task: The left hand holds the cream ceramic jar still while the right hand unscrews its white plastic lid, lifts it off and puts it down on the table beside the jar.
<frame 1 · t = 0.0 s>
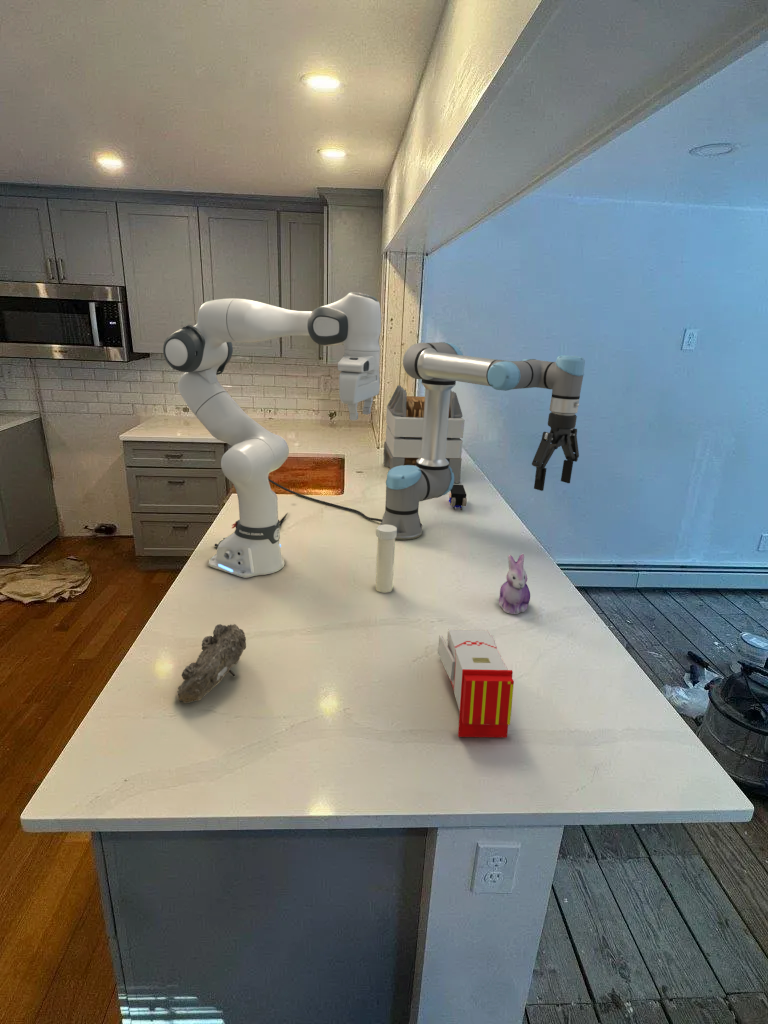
left hand: (360, 417, 147), 48 cm above the counter, tool pointing down, fingers open, 8 cm apart
right hand: (552, 485, 166), 28 cm above the counter, tool pointing down, fingers open, 13 cm apart
feather: (286, 516, 211), on the counter
grey boxy container: (419, 473, 275), on the counter
fossil: (217, 674, 120), on the counter
toy: (469, 691, 119), on the counter
jar: (383, 588, 160), on the counter
figurine character: (456, 506, 231), on the counter
lid: (386, 529, 154), point 18 cm above the counter, screwed on, not yet turned
figurine: (513, 607, 154), on the counter
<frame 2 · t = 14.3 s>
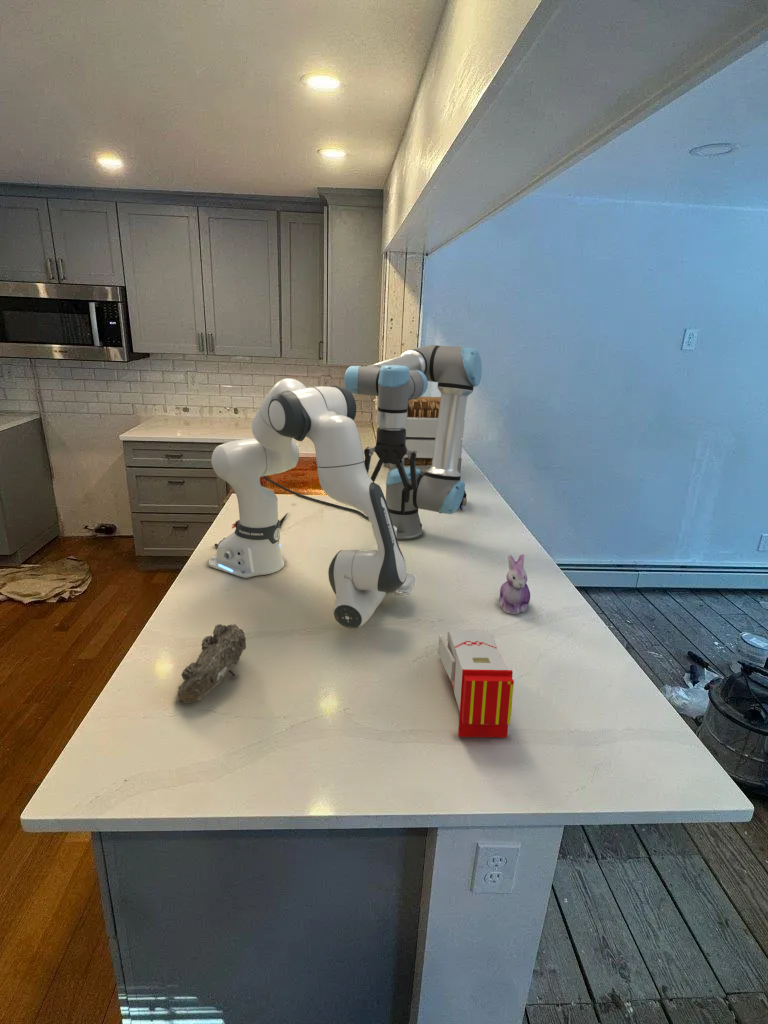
left hand: (385, 567, 159), 6 cm above the counter, tool horizontal, fingers closed on jar, 5 cm apart
right hand: (387, 511, 153), 23 cm above the counter, tool pointing down, fingers open, 7 cm apart
jar: (384, 588, 160), on the counter, touching left hand
everything else where it was.
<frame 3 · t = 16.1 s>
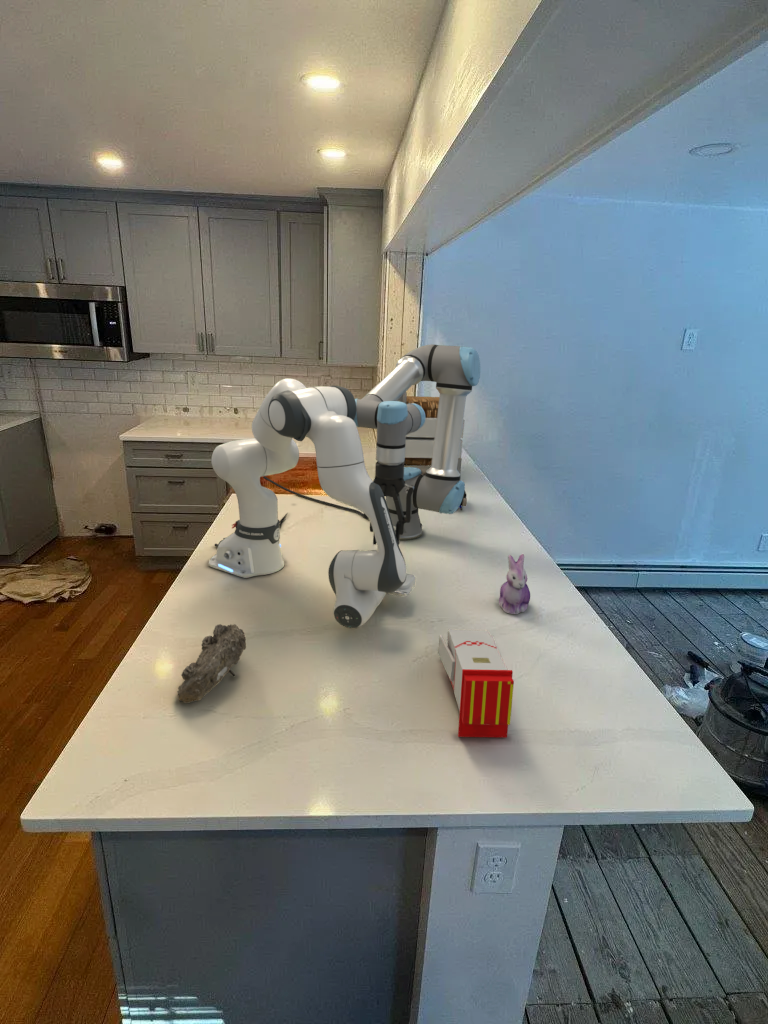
left hand: (385, 567, 159), 6 cm above the counter, tool horizontal, fingers closed on jar, 5 cm apart
right hand: (386, 543, 156), 14 cm above the counter, tool pointing down, fingers closed on lid, 5 cm apart
jar: (384, 588, 160), on the counter, touching left hand
lid: (386, 529, 154), point 18 cm above the counter, screwed on, not yet turned, touching right hand
everything else where it was.
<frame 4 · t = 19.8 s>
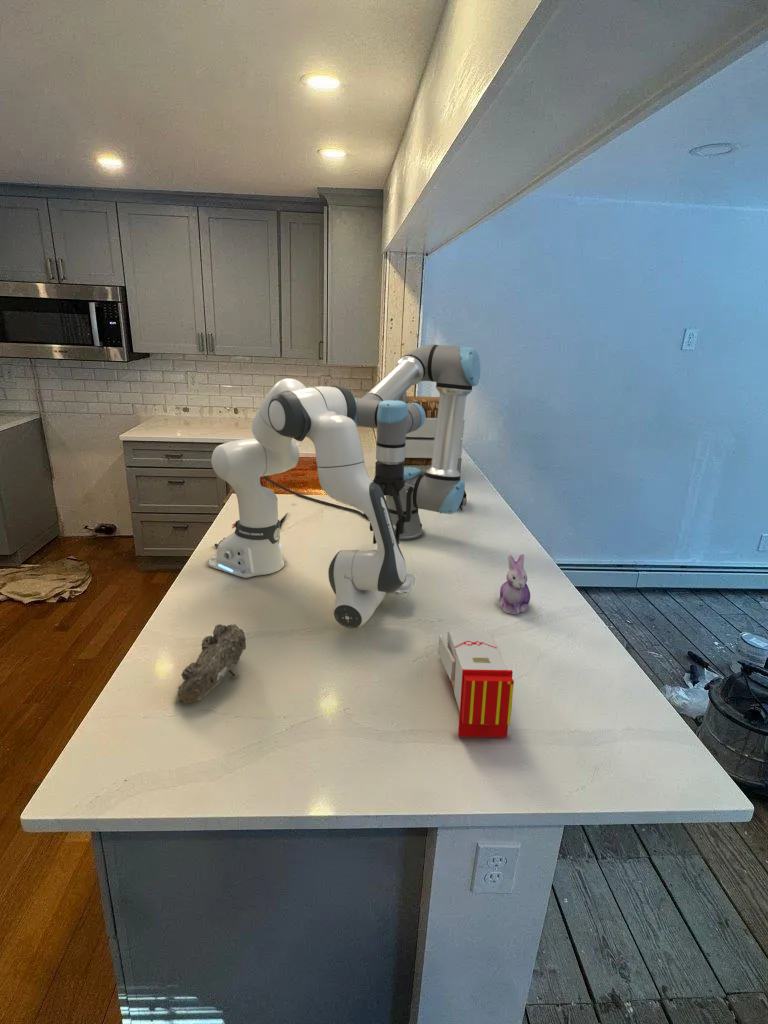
left hand: (385, 567, 159), 6 cm above the counter, tool horizontal, fingers closed on jar, 5 cm apart
right hand: (386, 542, 156), 14 cm above the counter, tool pointing down, fingers closed on lid, 5 cm apart
jar: (384, 588, 160), on the counter, touching left hand
lid: (386, 528, 154), point 18 cm above the counter, turned 129° so far, risen 0.2 cm, still on its thread, touching right hand
everything else where it was.
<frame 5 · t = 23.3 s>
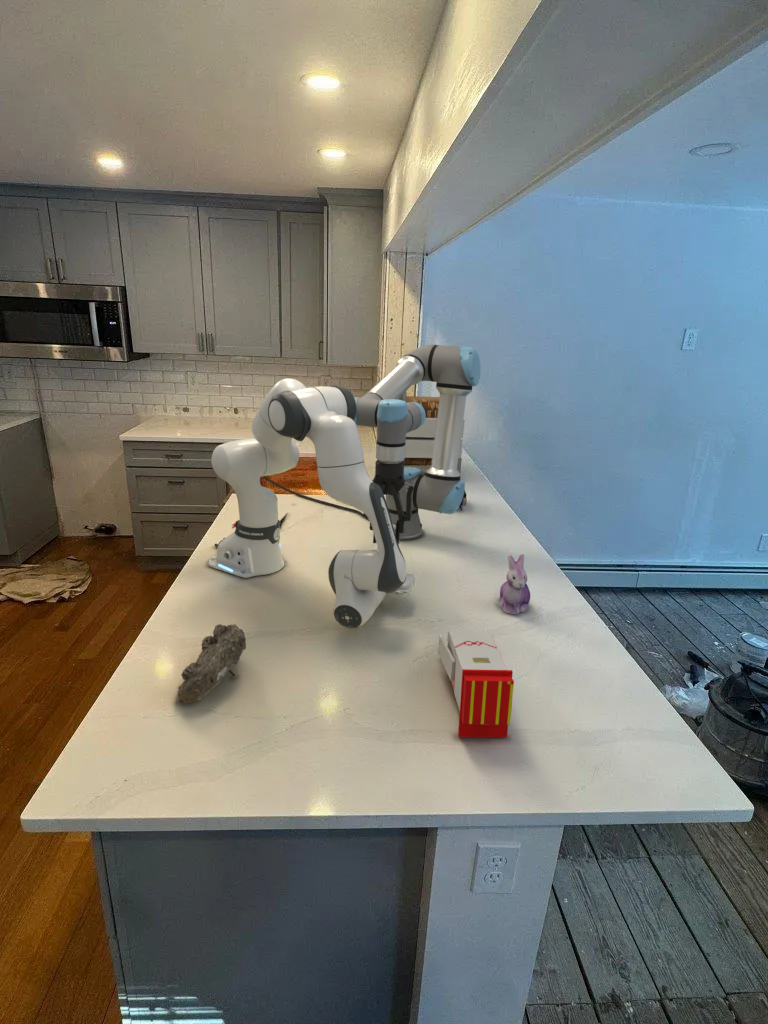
left hand: (385, 567, 159), 6 cm above the counter, tool horizontal, fingers closed on jar, 5 cm apart
right hand: (386, 542, 156), 14 cm above the counter, tool pointing down, fingers closed on lid, 5 cm apart
jar: (384, 588, 160), on the counter, touching left hand
lid: (386, 527, 154), point 19 cm above the counter, turned 259° so far, risen 0.4 cm, still on its thread, touching right hand
everything else where it was.
when the right hand's fingers open (0 cm above the counter, at t = 30.3 s): lid drops 2 cm, point 2 cm above the counter.
when the left hand's fingers open (6 cm above the counter, at t = 31.0 s): jar stays where it is, on the counter.
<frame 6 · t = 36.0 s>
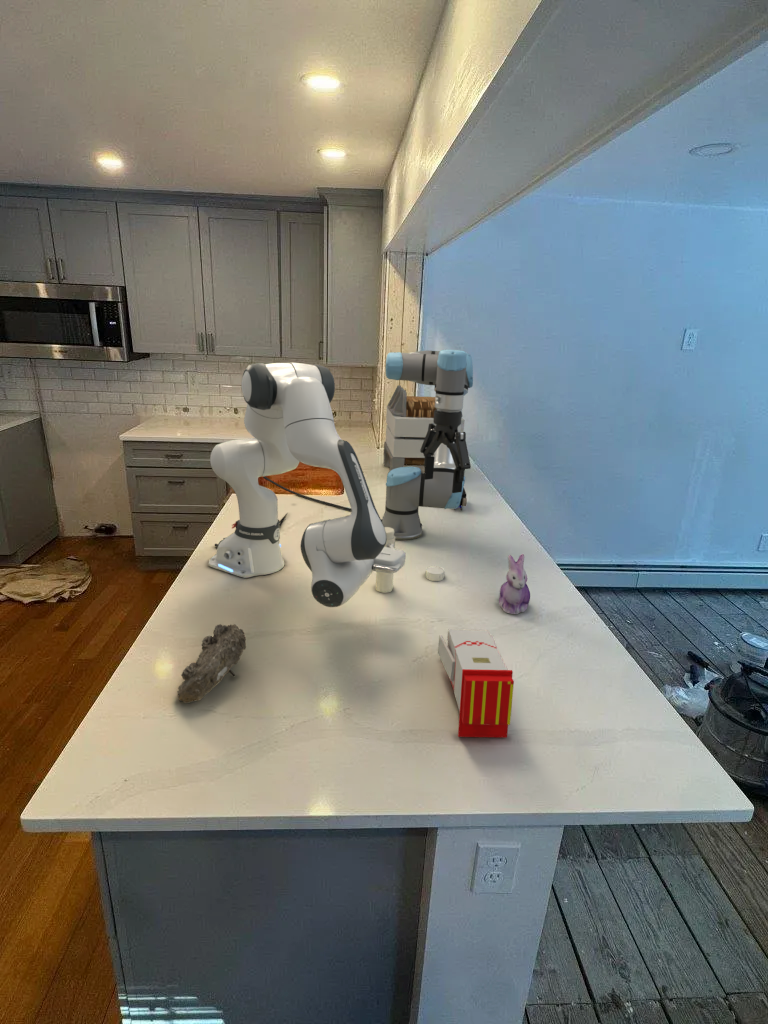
left hand: (373, 543, 144), 18 cm above the counter, tool horizontal, fingers open, 8 cm apart
right hand: (442, 485, 159), 28 cm above the counter, tool pointing down, fingers open, 13 cm apart
jar: (384, 588, 160), on the counter
lid: (435, 570, 168), point 2 cm above the counter, off its thread
everything else where it was.
at the end: lid came off its thread; lid point 2.0 cm above the counter; the left hand is holding nothing; the right hand is holding nothing; jar tilted 0°; jar moved 0.0 cm from its start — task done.
